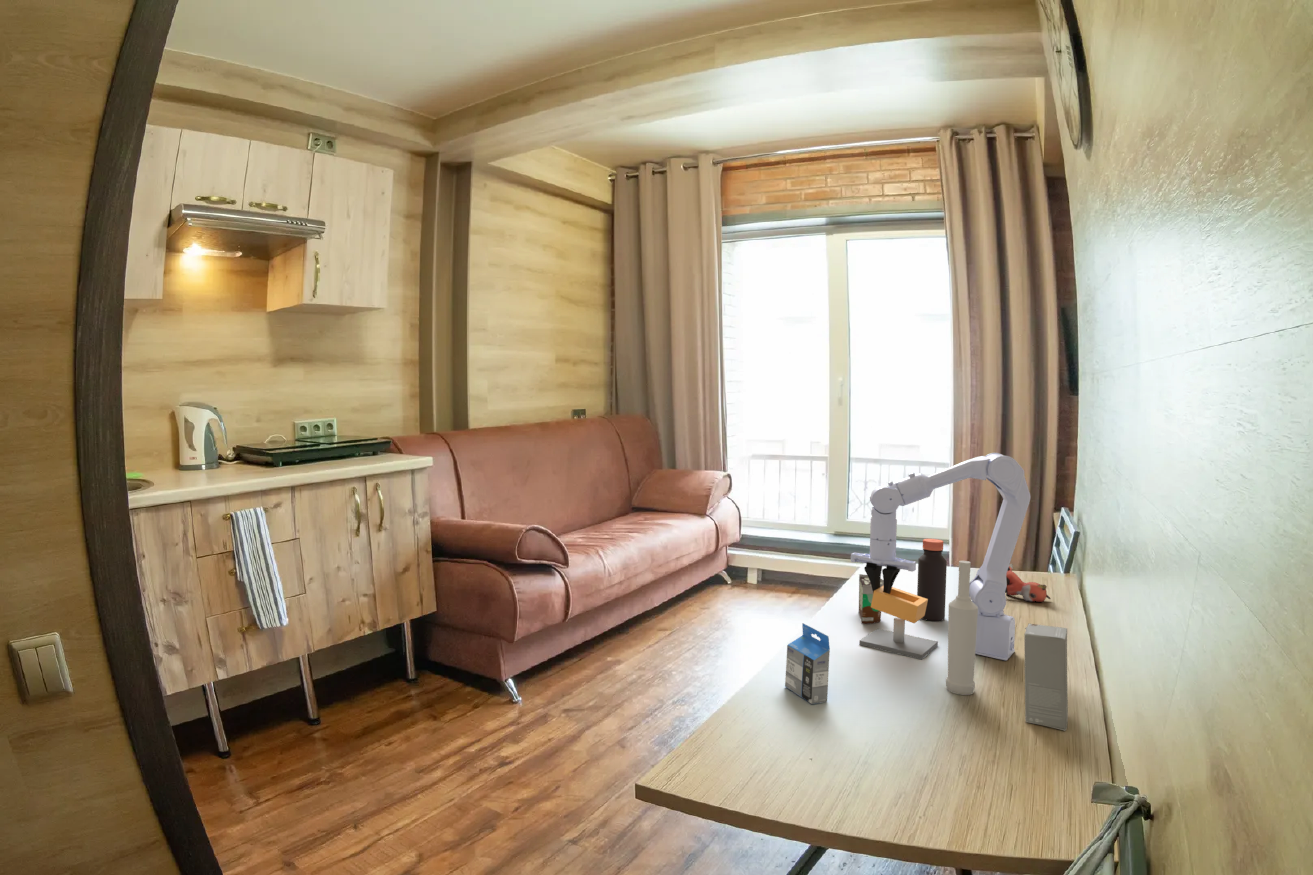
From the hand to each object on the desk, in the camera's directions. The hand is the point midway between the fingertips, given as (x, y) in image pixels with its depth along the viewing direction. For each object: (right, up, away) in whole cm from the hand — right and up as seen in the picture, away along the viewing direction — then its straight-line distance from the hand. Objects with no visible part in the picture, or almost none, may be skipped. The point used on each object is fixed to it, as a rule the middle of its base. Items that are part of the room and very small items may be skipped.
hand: (881, 597), depth 163 cm
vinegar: (+19, -10, +19) cm, 29 cm away
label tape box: (-23, -12, -29) cm, 39 cm away
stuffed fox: (+53, -9, +38) cm, 65 cm away
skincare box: (+17, -13, -38) cm, 43 cm away
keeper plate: (+3, -11, -2) cm, 11 cm away
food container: (+3, -10, +18) cm, 20 cm away
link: (+3, -3, -2) cm, 5 cm away
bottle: (+7, -12, -26) cm, 30 cm away
